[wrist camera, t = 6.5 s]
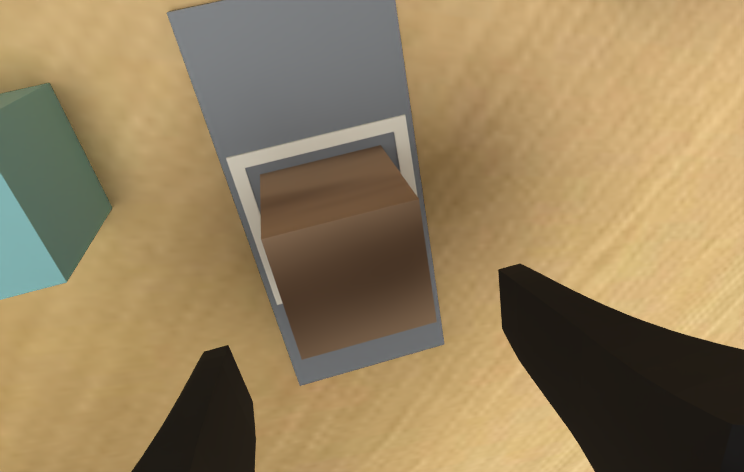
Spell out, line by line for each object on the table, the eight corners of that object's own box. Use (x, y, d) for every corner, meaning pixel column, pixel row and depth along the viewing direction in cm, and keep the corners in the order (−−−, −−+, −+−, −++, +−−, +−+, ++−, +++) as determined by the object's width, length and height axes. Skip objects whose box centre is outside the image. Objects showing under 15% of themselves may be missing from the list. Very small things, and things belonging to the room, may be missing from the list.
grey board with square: (440, 337, 24) (445, 345, 23) (299, 378, 23) (300, 387, 23) (386, -35, 16) (390, -36, 15) (169, 11, 15) (166, 12, 15)
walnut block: (398, 247, 20) (436, 321, 16) (292, 276, 20) (301, 360, 16) (380, 145, 18) (419, 198, 14) (260, 174, 18) (260, 239, 13)
